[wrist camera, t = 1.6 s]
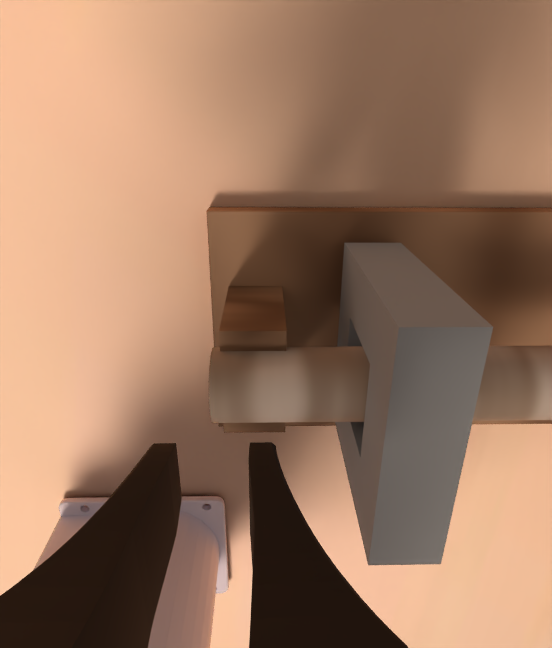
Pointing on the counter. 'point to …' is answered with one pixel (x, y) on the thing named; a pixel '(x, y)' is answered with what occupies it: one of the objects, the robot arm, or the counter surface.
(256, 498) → the robot arm
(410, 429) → the collar
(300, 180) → the counter surface
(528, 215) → the pipe stand
